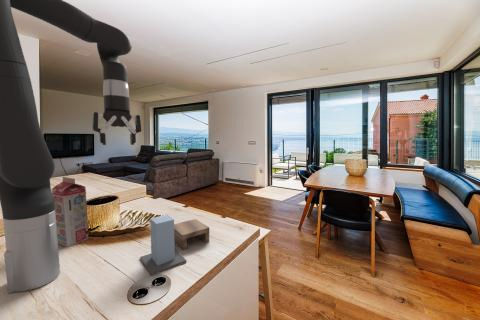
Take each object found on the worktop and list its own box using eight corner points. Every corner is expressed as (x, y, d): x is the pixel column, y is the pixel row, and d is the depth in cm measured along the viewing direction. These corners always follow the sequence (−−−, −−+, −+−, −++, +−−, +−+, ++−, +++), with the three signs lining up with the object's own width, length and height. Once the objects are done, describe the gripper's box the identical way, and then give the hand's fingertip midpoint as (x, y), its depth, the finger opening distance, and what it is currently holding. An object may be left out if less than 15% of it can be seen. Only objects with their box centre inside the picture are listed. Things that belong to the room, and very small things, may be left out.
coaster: (151, 275, 58) (150, 273, 57) (140, 258, 65) (140, 256, 65) (186, 262, 64) (186, 260, 64) (172, 248, 72) (172, 246, 71)
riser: (182, 250, 71) (182, 235, 70) (170, 238, 78) (170, 225, 78) (209, 241, 77) (209, 227, 76) (195, 231, 85) (195, 218, 84)
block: (157, 265, 61) (156, 223, 60) (151, 257, 65) (150, 218, 64) (174, 259, 64) (174, 219, 63) (167, 252, 68) (167, 214, 67)
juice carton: (77, 234, 80) (73, 175, 78) (88, 238, 77) (84, 177, 75) (55, 242, 74) (50, 178, 72) (67, 247, 71) (62, 180, 69)
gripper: (92, 91, 66) (95, 145, 68) (142, 97, 75) (144, 145, 77) (89, 94, 72) (92, 144, 73) (136, 99, 81) (138, 144, 82)
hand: (118, 144), depth 75 cm, fingers open, 8 cm apart
